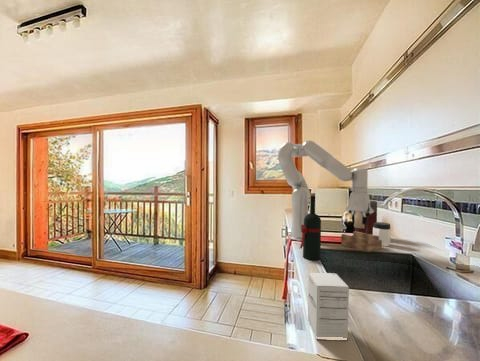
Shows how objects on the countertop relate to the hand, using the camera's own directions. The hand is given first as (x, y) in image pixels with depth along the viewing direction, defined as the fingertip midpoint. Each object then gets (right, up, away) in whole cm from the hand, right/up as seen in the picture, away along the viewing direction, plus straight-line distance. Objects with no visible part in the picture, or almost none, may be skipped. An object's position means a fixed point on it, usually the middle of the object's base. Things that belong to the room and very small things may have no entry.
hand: (359, 223), depth 128 cm
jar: (+14, -13, +4) cm, 20 cm away
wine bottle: (-34, -13, -21) cm, 42 cm away
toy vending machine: (+14, -13, +20) cm, 27 cm away
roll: (0, -2, 0) cm, 2 cm away
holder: (0, -13, -1) cm, 13 cm away
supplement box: (-45, -13, -72) cm, 86 cm away
